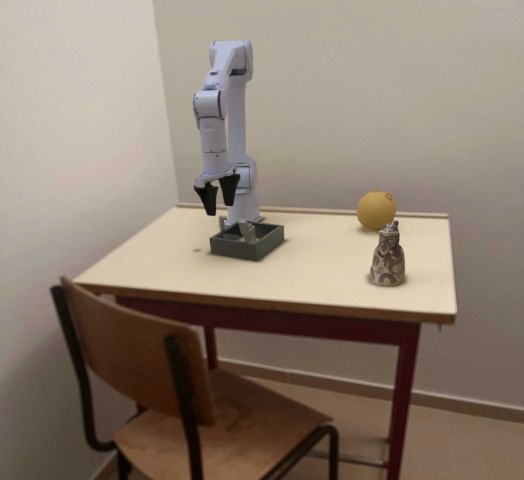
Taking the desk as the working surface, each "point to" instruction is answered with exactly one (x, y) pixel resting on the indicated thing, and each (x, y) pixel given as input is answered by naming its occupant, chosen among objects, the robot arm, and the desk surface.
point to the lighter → (247, 231)
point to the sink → (230, 247)
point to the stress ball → (376, 210)
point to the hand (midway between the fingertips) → (220, 210)
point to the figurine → (388, 257)
